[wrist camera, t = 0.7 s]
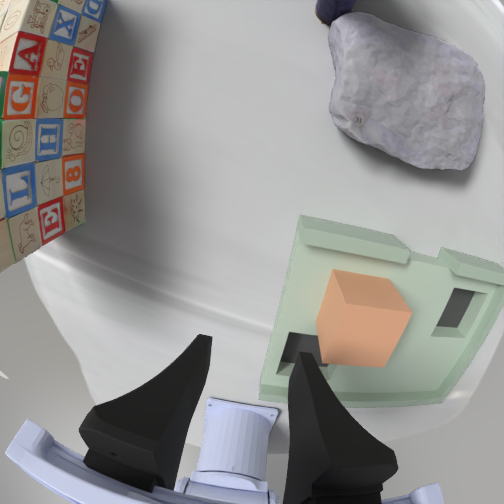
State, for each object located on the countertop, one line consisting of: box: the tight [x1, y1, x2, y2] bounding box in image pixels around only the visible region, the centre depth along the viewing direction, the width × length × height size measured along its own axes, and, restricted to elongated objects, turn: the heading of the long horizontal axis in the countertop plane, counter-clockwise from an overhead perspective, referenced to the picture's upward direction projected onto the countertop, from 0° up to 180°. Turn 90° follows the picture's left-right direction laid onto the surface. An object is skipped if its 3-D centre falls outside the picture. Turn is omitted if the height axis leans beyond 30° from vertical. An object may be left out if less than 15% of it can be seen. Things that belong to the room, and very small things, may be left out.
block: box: [315, 269, 413, 367], centre depth 17 cm, size 4×4×4 cm
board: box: [258, 215, 504, 408], centre depth 21 cm, size 16×21×3 cm
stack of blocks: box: [0, 0, 107, 272], centre depth 12 cm, size 21×6×12 cm, turn 175°
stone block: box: [328, 11, 485, 171], centre depth 14 cm, size 12×5×10 cm
